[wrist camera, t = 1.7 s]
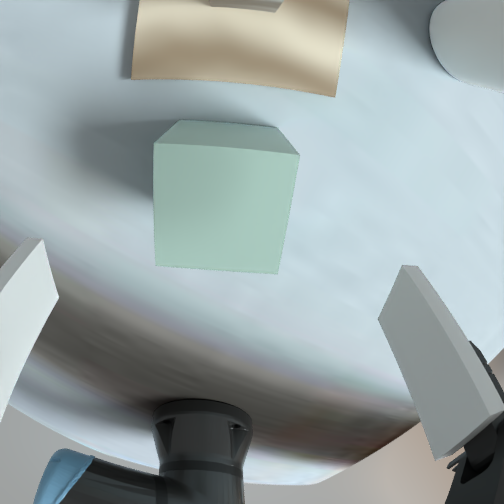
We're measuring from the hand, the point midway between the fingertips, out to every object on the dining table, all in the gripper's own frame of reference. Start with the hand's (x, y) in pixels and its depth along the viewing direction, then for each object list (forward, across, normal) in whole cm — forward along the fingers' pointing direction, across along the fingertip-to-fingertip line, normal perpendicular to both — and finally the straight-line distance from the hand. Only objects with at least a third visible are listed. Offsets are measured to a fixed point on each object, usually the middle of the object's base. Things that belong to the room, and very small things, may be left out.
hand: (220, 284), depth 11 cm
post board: (+14, 0, -14) cm, 20 cm away
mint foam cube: (+14, 0, 0) cm, 14 cm away
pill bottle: (+15, -18, -14) cm, 27 cm away
